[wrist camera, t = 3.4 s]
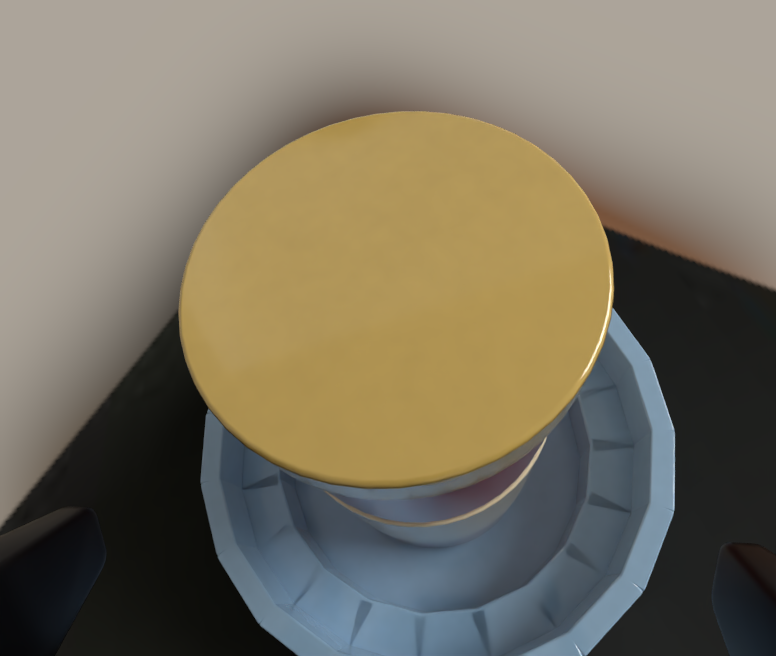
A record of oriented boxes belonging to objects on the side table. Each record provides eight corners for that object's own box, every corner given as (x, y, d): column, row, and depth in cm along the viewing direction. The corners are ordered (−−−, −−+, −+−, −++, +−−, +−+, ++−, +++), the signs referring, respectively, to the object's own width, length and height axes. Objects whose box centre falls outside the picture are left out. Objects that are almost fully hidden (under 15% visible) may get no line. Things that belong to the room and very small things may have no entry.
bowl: (419, 795, 14) (402, 860, 11) (186, 443, 20) (126, 410, 16) (720, 468, 17) (785, 435, 14) (441, 237, 23) (436, 172, 19)
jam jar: (425, 601, 16) (351, 612, 6) (302, 445, 19) (106, 265, 9) (571, 457, 17) (719, 260, 7) (436, 331, 20) (404, 57, 10)
